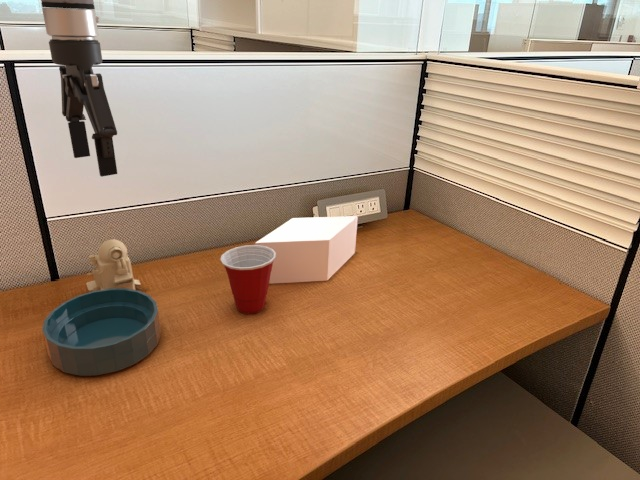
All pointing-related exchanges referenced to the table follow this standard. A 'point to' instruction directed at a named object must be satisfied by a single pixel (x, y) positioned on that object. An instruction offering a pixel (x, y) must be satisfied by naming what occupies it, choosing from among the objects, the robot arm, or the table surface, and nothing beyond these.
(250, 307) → the plastic cup
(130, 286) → the robot
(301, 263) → the white rectangular box
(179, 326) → the table surface
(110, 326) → the shallow teal bowl
